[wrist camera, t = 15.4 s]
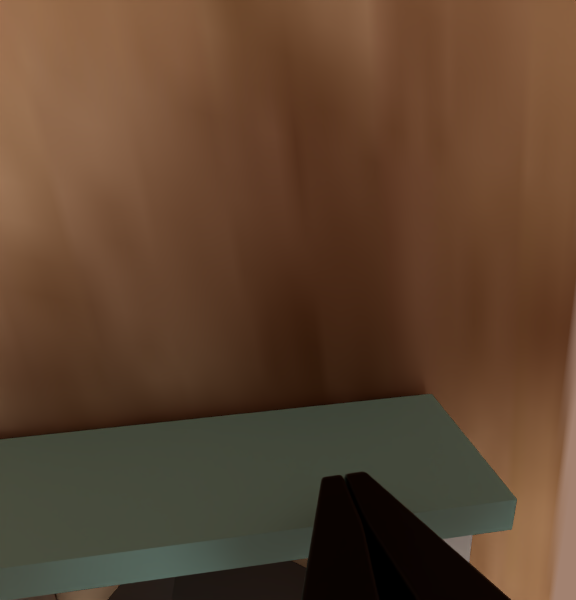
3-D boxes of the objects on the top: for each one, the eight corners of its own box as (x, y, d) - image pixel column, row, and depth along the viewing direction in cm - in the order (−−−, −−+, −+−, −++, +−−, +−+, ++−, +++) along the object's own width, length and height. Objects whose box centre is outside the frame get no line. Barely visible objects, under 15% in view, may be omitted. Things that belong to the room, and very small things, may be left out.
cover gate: (429, 416, 13) (511, 529, 9) (-46, 470, 11) (-183, 626, 8) (431, 393, 12) (517, 499, 9) (-55, 445, 11) (-202, 595, 7)
